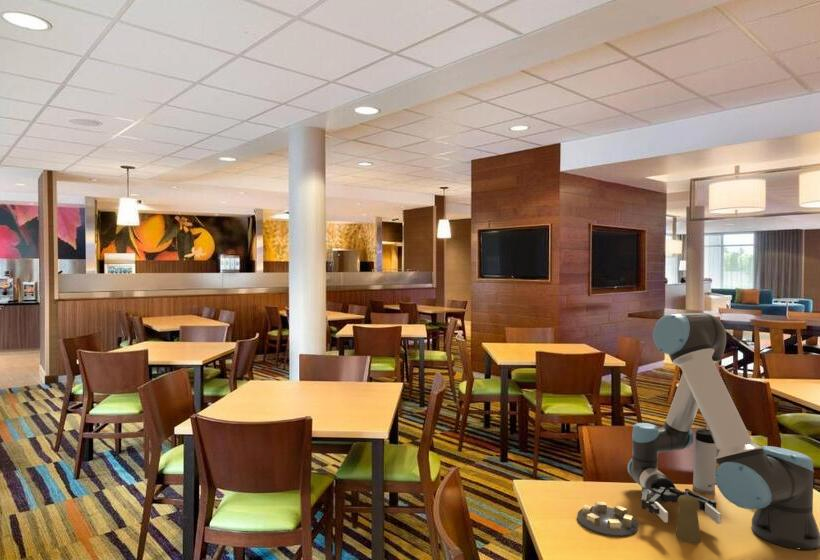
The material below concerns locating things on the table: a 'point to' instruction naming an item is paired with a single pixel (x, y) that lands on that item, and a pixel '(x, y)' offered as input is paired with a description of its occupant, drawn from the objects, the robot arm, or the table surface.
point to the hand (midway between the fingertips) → (693, 518)
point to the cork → (688, 520)
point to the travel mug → (704, 462)
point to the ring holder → (607, 520)
